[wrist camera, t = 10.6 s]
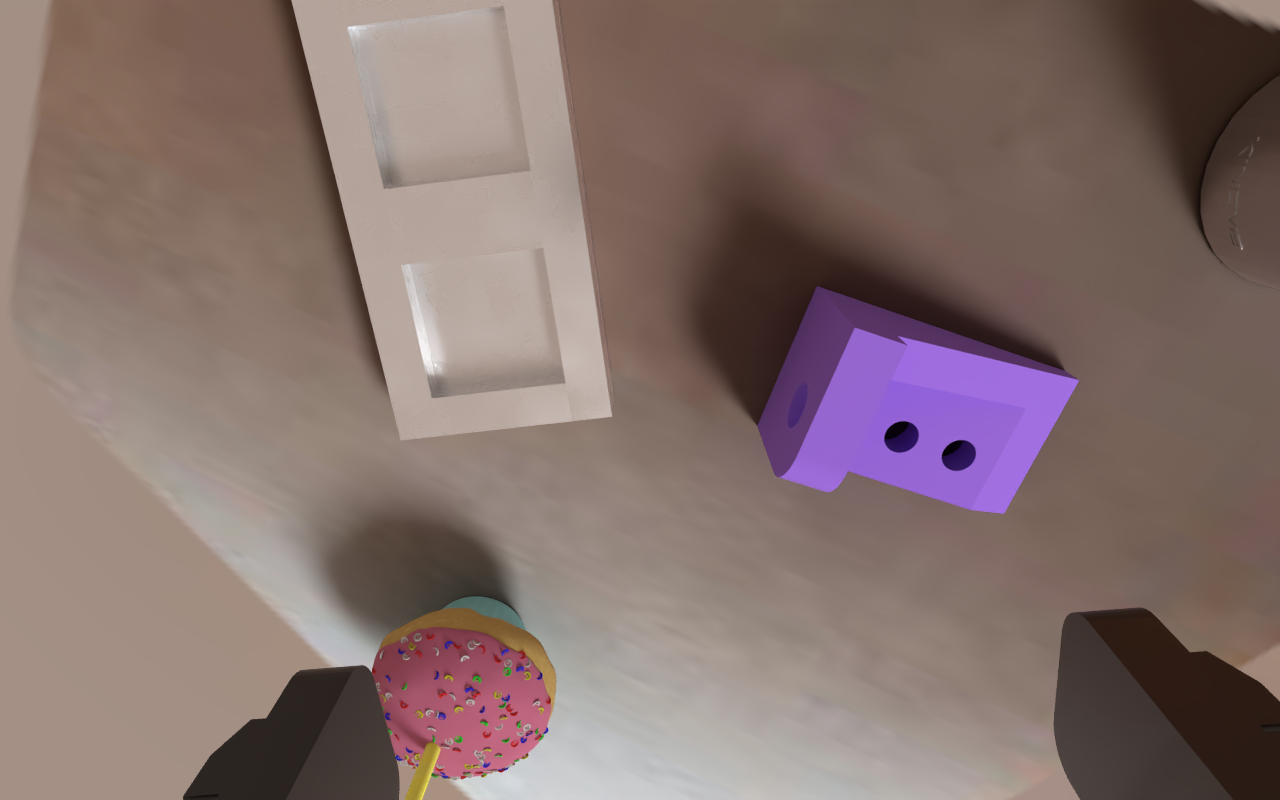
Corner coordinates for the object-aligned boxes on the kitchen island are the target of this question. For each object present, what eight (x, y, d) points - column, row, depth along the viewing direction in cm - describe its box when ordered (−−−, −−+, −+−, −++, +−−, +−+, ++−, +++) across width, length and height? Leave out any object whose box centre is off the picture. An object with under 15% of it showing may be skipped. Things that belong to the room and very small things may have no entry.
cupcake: (495, 725, 43) (444, 949, 32) (360, 640, 41) (257, 846, 30) (597, 624, 41) (581, 826, 30) (460, 528, 39) (388, 706, 28)
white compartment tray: (511, -330, 27) (498, -372, 25) (613, 393, 36) (611, 416, 34) (243, -289, 27) (203, -327, 25) (412, 416, 37) (396, 440, 34)
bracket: (756, 423, 37) (780, 492, 31) (815, 284, 35) (854, 327, 29) (990, 497, 39) (1060, 578, 32) (1061, 368, 36) (1152, 428, 30)
